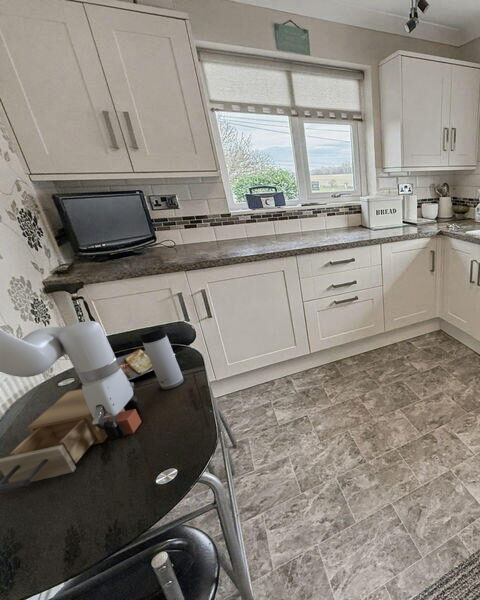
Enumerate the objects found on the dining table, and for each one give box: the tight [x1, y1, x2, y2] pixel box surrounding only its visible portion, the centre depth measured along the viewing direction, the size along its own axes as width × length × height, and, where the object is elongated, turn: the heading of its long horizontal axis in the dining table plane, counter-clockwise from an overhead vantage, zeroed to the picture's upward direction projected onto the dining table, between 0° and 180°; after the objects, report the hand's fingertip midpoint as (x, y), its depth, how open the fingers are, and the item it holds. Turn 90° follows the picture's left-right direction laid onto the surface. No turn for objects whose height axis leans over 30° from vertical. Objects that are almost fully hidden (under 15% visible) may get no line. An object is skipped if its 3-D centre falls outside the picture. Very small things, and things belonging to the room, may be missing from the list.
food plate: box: [116, 348, 154, 381], centre depth 115 cm, size 25×23×4 cm
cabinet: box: [27, 388, 125, 446], centre depth 87 cm, size 15×13×9 cm
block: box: [110, 409, 142, 436], centre depth 86 cm, size 4×4×4 cm
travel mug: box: [139, 326, 185, 390], centre depth 102 cm, size 6×7×20 cm
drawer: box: [0, 418, 97, 493], centre depth 74 cm, size 20×11×7 cm, turn 15°
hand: (126, 425), depth 87 cm, fingers open, 8 cm apart
